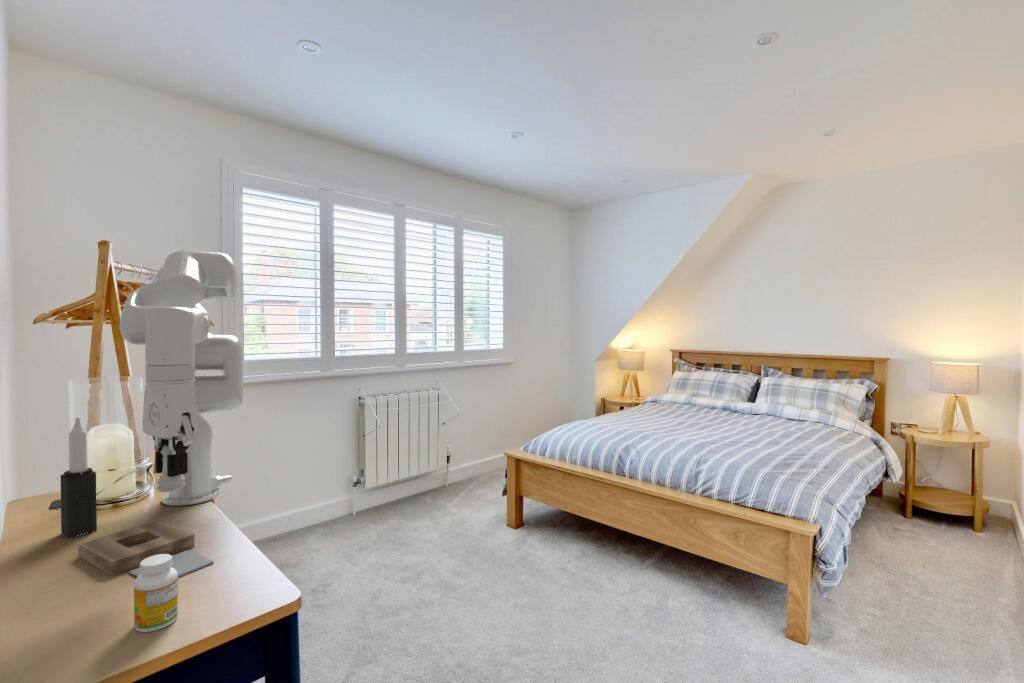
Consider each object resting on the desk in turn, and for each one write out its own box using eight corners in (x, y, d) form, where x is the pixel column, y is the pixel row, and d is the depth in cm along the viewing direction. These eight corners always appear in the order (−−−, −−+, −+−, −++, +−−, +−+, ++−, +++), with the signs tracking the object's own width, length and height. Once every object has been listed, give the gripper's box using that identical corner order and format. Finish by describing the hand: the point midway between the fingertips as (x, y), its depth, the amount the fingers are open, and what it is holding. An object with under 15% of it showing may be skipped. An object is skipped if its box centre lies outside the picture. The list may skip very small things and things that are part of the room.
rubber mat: (188, 552, 99) (188, 550, 99) (213, 563, 94) (213, 561, 94) (129, 573, 90) (129, 571, 90) (154, 586, 86) (154, 584, 86)
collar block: (159, 531, 108) (158, 520, 108) (194, 546, 101) (194, 534, 101) (78, 557, 96) (78, 544, 96) (112, 576, 89) (112, 562, 89)
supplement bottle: (135, 619, 76) (134, 557, 76) (177, 608, 79) (177, 548, 79) (133, 637, 72) (132, 571, 72) (178, 625, 75) (177, 562, 75)
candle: (68, 539, 104) (66, 420, 103) (59, 533, 106) (57, 417, 106) (98, 530, 108) (97, 416, 107) (89, 525, 111) (87, 414, 110)
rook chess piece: (171, 493, 89) (170, 449, 89) (150, 491, 90) (149, 447, 90) (191, 485, 93) (191, 443, 93) (171, 483, 94) (171, 442, 94)
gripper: (125, 372, 92) (126, 471, 93) (172, 378, 84) (173, 486, 84) (169, 370, 98) (170, 461, 99) (217, 375, 90) (217, 475, 91)
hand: (171, 472), depth 92 cm, fingers closed on rook chess piece, 3 cm apart
